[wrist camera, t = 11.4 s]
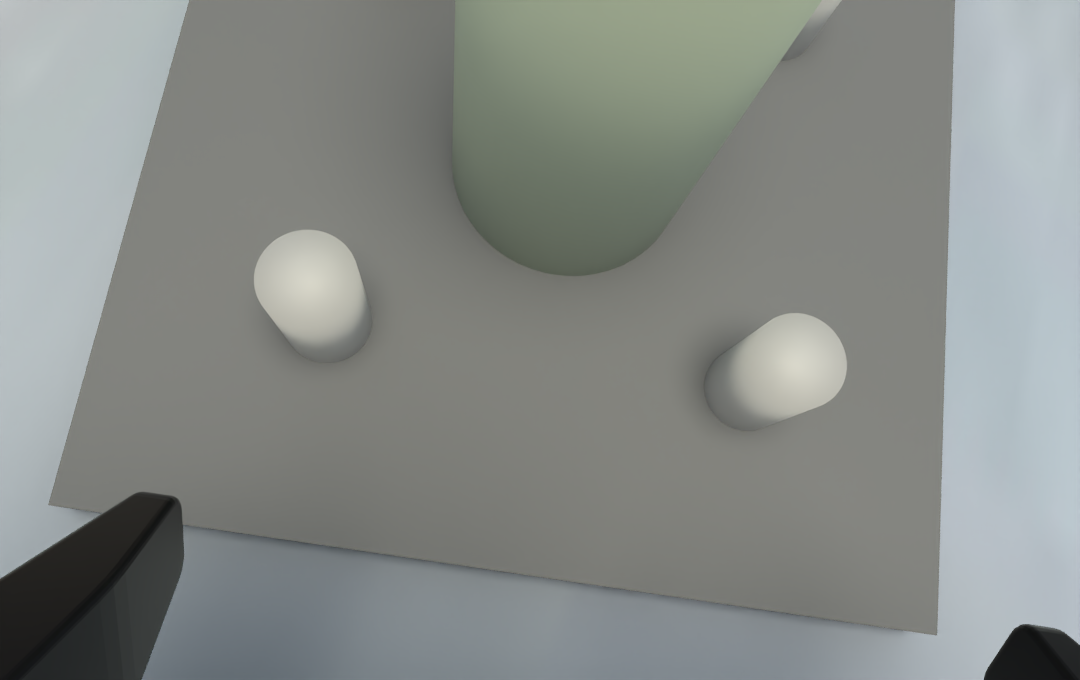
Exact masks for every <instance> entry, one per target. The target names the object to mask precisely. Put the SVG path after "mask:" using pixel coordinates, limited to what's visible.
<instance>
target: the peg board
mask: <svg viewBox="0 0 1080 680" xmlns="http://www.w3.org/2000/svg"><path fill="white" fill-rule="evenodd" d="M954 11H955V0H822V1H821V3H820V4H819V5H818V7H817V8H816V10H815V11H814V13H813V14H812V16H811V17H810V18H809V20H808V21H807V23H806V24H805V26H804V27H803V29H802V30H801V32H800V33H799V34H798V36H797V37H796V39H795V40H794V42H793V43H792V45H791V46H790V48H789V49H788V50H787V52H786V53H785V55H784V56H783V58H782V59H781V61H780V62H779V64H778V65H777V66H776V68H775V69H774V71H773V72H772V74H771V75H770V77H769V78H768V80H767V81H766V82H765V84H764V85H763V87H762V88H761V90H760V91H759V93H758V94H757V96H756V97H755V98H754V100H753V101H752V103H751V104H750V106H749V107H748V109H747V110H746V111H745V113H744V114H743V116H742V117H741V119H740V120H739V122H738V123H737V125H736V126H735V127H734V129H733V130H732V132H731V133H730V135H729V136H728V138H727V139H726V141H725V142H724V143H723V145H722V146H721V148H720V149H719V151H718V152H717V154H716V155H715V157H714V158H713V159H712V161H711V162H710V164H709V165H708V167H707V168H706V170H705V171H704V173H703V174H702V175H701V177H700V178H699V180H698V181H697V183H696V184H695V186H694V187H693V188H692V190H691V191H690V193H689V194H688V196H687V197H686V199H685V200H684V202H683V203H682V204H681V206H680V207H679V209H678V210H677V212H676V213H675V215H674V216H673V218H672V219H671V220H670V222H669V223H668V225H667V226H666V228H665V229H664V230H663V232H662V233H661V234H660V236H659V237H658V239H657V240H656V241H655V242H654V243H653V244H652V245H651V246H650V247H649V248H648V249H647V250H645V251H644V252H643V253H641V254H640V255H639V256H637V257H636V258H634V259H633V260H631V261H629V262H627V263H626V264H624V265H622V266H619V267H617V268H614V269H612V270H609V271H605V272H601V273H597V274H592V275H583V276H562V275H554V274H548V273H544V272H540V271H536V270H533V269H530V268H528V267H525V266H523V265H520V264H518V263H517V262H515V261H513V260H511V259H509V258H508V257H506V256H504V255H503V254H502V253H500V252H499V251H497V250H496V249H495V248H493V247H492V246H491V245H490V244H489V243H488V242H487V241H486V240H485V239H484V238H483V237H482V236H481V235H480V234H479V233H478V231H477V230H476V229H475V228H474V226H473V225H472V224H471V222H470V220H469V219H468V217H467V216H466V214H465V212H464V210H463V208H462V206H461V203H460V201H459V199H458V195H457V192H456V189H455V185H454V179H453V172H452V145H453V93H454V41H455V0H189V3H188V7H187V11H186V14H185V18H184V21H183V25H182V29H181V32H180V36H179V39H178V43H177V46H176V50H175V54H174V57H173V61H172V64H171V68H170V71H169V75H168V79H167V82H166V86H165V89H164V93H163V97H162V100H161V104H160V107H159V111H158V114H157V118H156V122H155V125H154V129H153V132H152V136H151V139H150V143H149V147H148V150H147V154H146V157H145V161H144V164H143V168H142V172H141V175H140V179H139V182H138V186H137V190H136V193H135V197H134V200H133V204H132V207H131V211H130V215H129V218H128V222H127V225H126V229H125V232H124V236H123V240H122V243H121V247H120V250H119V254H118V257H117V261H116V265H115V268H114V272H113V275H112V279H111V283H110V286H109V290H108V293H107V297H106V300H105V304H104V308H103V311H102V315H101V318H100V322H99V325H98V329H97V333H96V336H95V340H94V343H93V347H92V350H91V354H90V358H89V361H88V365H87V368H86V372H85V376H84V379H83V383H82V386H81V390H80V393H79V397H78V401H77V404H76V408H75V411H74V415H73V418H72V422H71V426H70V429H69V433H68V436H67V440H66V444H65V447H64V451H63V454H62V458H61V461H60V465H59V469H58V472H57V476H56V479H55V483H54V486H53V490H52V494H51V497H50V501H49V504H48V505H52V506H59V507H65V508H72V509H79V510H86V511H93V512H99V513H104V512H105V511H107V510H109V509H110V508H112V507H113V506H115V505H116V504H118V503H120V502H121V501H123V500H124V499H126V498H127V497H129V496H131V495H132V494H135V493H137V492H151V493H157V494H164V495H171V496H174V497H176V498H178V499H179V501H180V503H181V506H182V521H183V525H188V526H195V527H202V528H209V529H215V530H222V531H229V532H236V533H243V534H249V535H256V536H263V537H270V538H277V539H284V540H290V541H297V542H304V543H311V544H318V545H324V546H331V547H338V548H345V549H352V550H359V551H365V552H372V553H379V554H386V555H393V556H399V557H406V558H413V559H420V560H427V561H434V562H440V563H447V564H454V565H461V566H468V567H474V568H481V569H488V570H495V571H502V572H509V573H515V574H522V575H529V576H536V577H543V578H549V579H556V580H563V581H570V582H577V583H584V584H590V585H597V586H604V587H611V588H618V589H624V590H631V591H638V592H645V593H652V594H659V595H665V596H672V597H679V598H686V599H693V600H699V601H706V602H713V603H720V604H727V605H734V606H740V607H747V608H754V609H761V610H768V611H774V612H781V613H788V614H795V615H802V616H809V617H815V618H822V619H829V620H836V621H843V622H849V623H856V624H863V625H870V626H877V627H884V628H890V629H897V630H904V631H911V632H918V633H924V634H931V635H937V619H938V583H939V547H940V511H941V476H942V440H943V404H944V368H945V333H946V297H947V261H948V226H949V190H950V154H951V118H952V83H953V47H954Z"/></svg>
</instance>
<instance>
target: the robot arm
mask: <svg viewBox="0 0 1080 680" xmlns="http://www.w3.org/2000/svg"><path fill="white" fill-rule="evenodd" d="M183 560H184V543H183V521H182V506H181V503H180V501H179V499H178V498H176V497H174V496H171V495H164V494H157V493H151V492H137V493H135V494H132V495H131V496H129V497H127V498H126V499H124V500H123V501H121V502H120V503H118V504H116V505H115V506H113V507H112V508H110V509H109V510H107V511H105V512H104V513H102V514H101V515H99V516H98V517H96V518H94V519H93V520H91V521H90V522H88V523H87V524H85V525H84V526H82V527H80V528H79V529H77V530H76V531H74V532H73V533H71V534H69V535H68V536H66V537H65V538H63V539H62V540H60V541H59V542H57V543H55V544H54V545H52V546H51V547H49V548H48V549H46V550H44V551H43V552H41V553H40V554H38V555H37V556H35V557H34V558H32V559H30V560H29V561H27V562H26V563H24V564H23V565H21V566H19V567H18V568H16V569H15V570H13V571H12V572H10V573H9V574H7V575H5V576H4V577H2V578H1V579H0V680H142V677H143V674H144V672H145V669H146V666H147V663H148V661H149V658H150V655H151V653H152V650H153V647H154V645H155V642H156V639H157V637H158V634H159V631H160V629H161V626H162V623H163V621H164V618H165V615H166V613H167V610H168V607H169V605H170V602H171V599H172V597H173V594H174V591H175V589H176V586H177V583H178V581H179V578H180V575H181V571H182V566H183ZM984 680H1080V645H1079V644H1078V643H1077V642H1075V641H1074V640H1073V639H1072V638H1071V637H1069V636H1068V635H1067V634H1065V633H1064V632H1062V631H1060V630H1058V629H1055V628H1050V627H1043V626H1036V625H1030V624H1023V625H1020V626H1018V627H1017V628H1015V629H1014V630H1013V631H1012V632H1011V634H1010V635H1009V637H1008V639H1007V640H1006V642H1005V643H1004V645H1003V646H1002V648H1001V649H1000V651H999V652H998V654H997V655H996V657H995V658H994V660H993V661H992V663H991V664H990V666H989V667H988V669H987V671H986V673H985V677H984Z"/></svg>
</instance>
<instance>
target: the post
mask: <svg viewBox="0 0 1080 680" xmlns="http://www.w3.org/2000/svg"><path fill="white" fill-rule="evenodd" d="M821 1H822V0H455V41H454V93H453V145H452V172H453V179H454V185H455V189H456V192H457V195H458V199H459V201H460V203H461V206H462V208H463V210H464V212H465V214H466V216H467V217H468V219H469V220H470V222H471V224H472V225H473V226H474V228H475V229H476V230H477V231H478V233H479V234H480V235H481V236H482V237H483V238H484V239H485V240H486V241H487V242H488V243H489V244H490V245H491V246H492V247H493V248H495V249H496V250H497V251H499V252H500V253H502V254H503V255H504V256H506V257H508V258H509V259H511V260H513V261H515V262H517V263H518V264H520V265H523V266H525V267H528V268H530V269H533V270H536V271H540V272H544V273H548V274H554V275H562V276H583V275H592V274H597V273H601V272H605V271H609V270H612V269H614V268H617V267H619V266H622V265H624V264H626V263H627V262H629V261H631V260H633V259H634V258H636V257H637V256H639V255H640V254H641V253H643V252H644V251H645V250H647V249H648V248H649V247H650V246H651V245H652V244H653V243H654V242H655V241H656V240H657V239H658V237H659V236H660V234H661V233H662V232H663V230H664V229H665V228H666V226H667V225H668V223H669V222H670V220H671V219H672V218H673V216H674V215H675V213H676V212H677V210H678V209H679V207H680V206H681V204H682V203H683V202H684V200H685V199H686V197H687V196H688V194H689V193H690V191H691V190H692V188H693V187H694V186H695V184H696V183H697V181H698V180H699V178H700V177H701V175H702V174H703V173H704V171H705V170H706V168H707V167H708V165H709V164H710V162H711V161H712V159H713V158H714V157H715V155H716V154H717V152H718V151H719V149H720V148H721V146H722V145H723V143H724V142H725V141H726V139H727V138H728V136H729V135H730V133H731V132H732V130H733V129H734V127H735V126H736V125H737V123H738V122H739V120H740V119H741V117H742V116H743V114H744V113H745V111H746V110H747V109H748V107H749V106H750V104H751V103H752V101H753V100H754V98H755V97H756V96H757V94H758V93H759V91H760V90H761V88H762V87H763V85H764V84H765V82H766V81H767V80H768V78H769V77H770V75H771V74H772V72H773V71H774V69H775V68H776V66H777V65H778V64H779V62H780V61H781V59H782V58H783V56H784V55H785V53H786V52H787V50H788V49H789V48H790V46H791V45H792V43H793V42H794V40H795V39H796V37H797V36H798V34H799V33H800V32H801V30H802V29H803V27H804V26H805V24H806V23H807V21H808V20H809V18H810V17H811V16H812V14H813V13H814V11H815V10H816V8H817V7H818V5H819V4H820V3H821Z"/></svg>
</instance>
